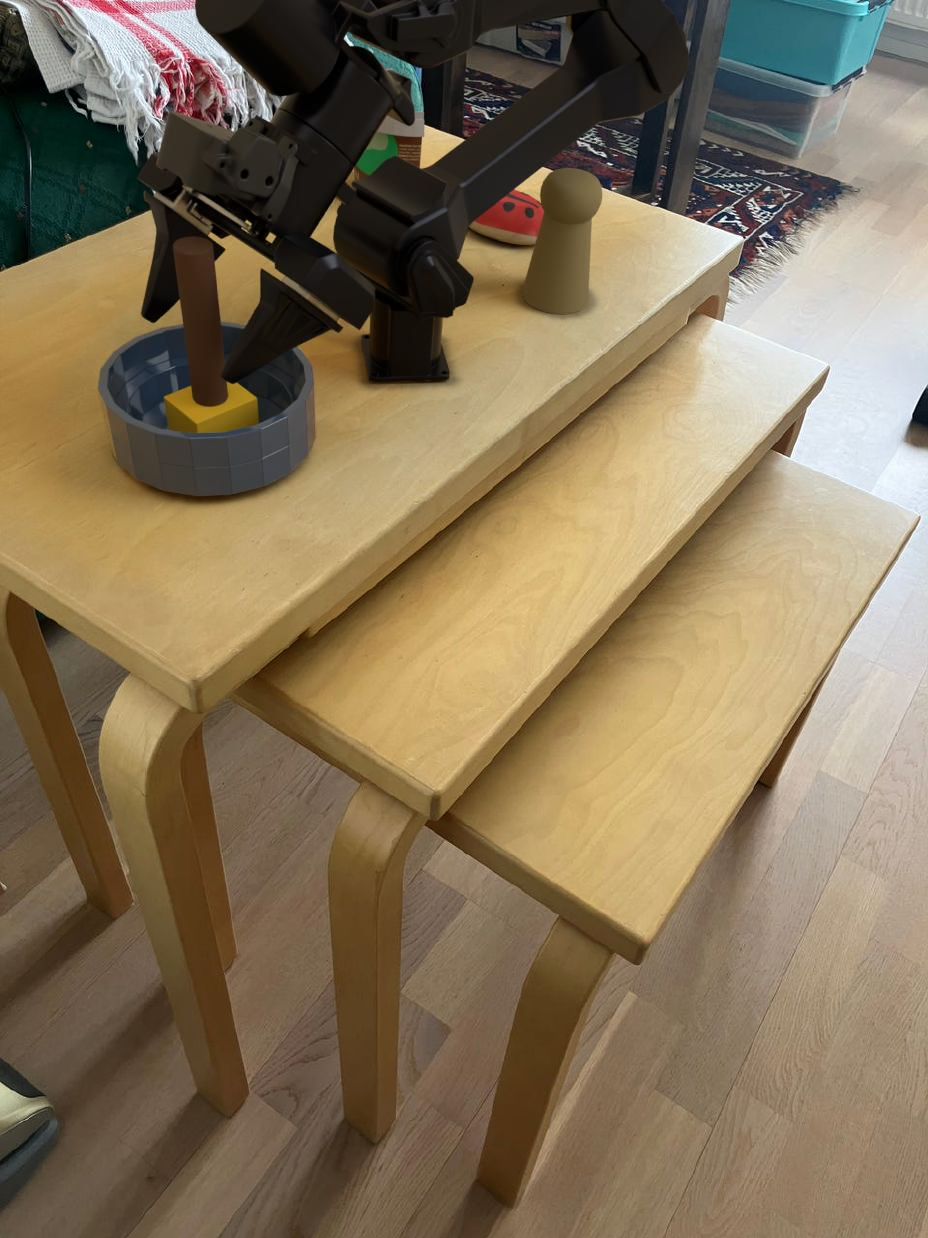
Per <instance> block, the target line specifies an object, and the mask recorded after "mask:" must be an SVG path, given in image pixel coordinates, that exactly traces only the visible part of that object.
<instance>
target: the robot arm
mask: <svg viewBox="0 0 928 1238" xmlns="http://www.w3.org/2000/svg"><path fill="white" fill-rule="evenodd" d="M194 10H195V11H194V12H195V17H196V19H197V22H198V24H199V25H200V26H201V28H203V30H204V31H205V32H206V33H207V34H208V35H209V36H210V37H211V38H212V39H213V40H214V41H215V42H216V43H217V44H218V45H219V46H220V47H221V48H222V49H223V50H224V51H225V52H226V53H227V54H228V55H229V56H230V57H231V58H232V59H233V60H234V61H235V62H236V63H237V64H239V66H240V67H241V68H242V69H243V70H244V71H245V72H247V74H248V75H249V76H250V77H251V78H252V79H254V81H255V82H256V83H258V85H259V86H260V87H261V88H262V89H263V90H264V91H265V92H266V93H267V94H269V95H271V96H275V97H284V98H283V100H282V102H281V103H280V105H279V106H278V108H277V109H276V111H275V112H274V115H273V116H272V118H271V119H270V120H269V121H268V120H266V119H265V118H262V117H261V116H259V115H257V114H256V115H255V116H254V117H252V118H249V119H248V121H247V122H246V123H245V125H244V126H243V127H238V128H237V129H236V131H234V130H231V129H228V128H225V127H223V126H220V125H217V124H215V123H212V122H208V121H205V120H202V119H199V118H196V117H192V116H189V115H187V114H183V113H180V112H177V111H173V110H169V111H168V114H167V118H166V121H165V126H164V130H163V135H162V138H161V142H160V146H159V151H156V152H152V153H151V154H150V155H149V157H148V158H147V160H146V162H145V164H144V166H143V167H142V169H141V170H140V172H139V174H138V176H137V177H136V179H137V180H138V181H140V182H141V183H143V184H144V185H145V186H147V187H148V188H149V189H151V190H152V191H153V192H154V194H153V195H152V194H151V193H149V192H148V191H147V190H143V200H144V201H145V202H146V203H148V205H149V208H150V211H151V214H152V218H153V222H154V225H155V240H154V247H153V255H152V259H151V264H150V268H149V273H148V277H147V281H146V287H145V291H144V295H143V301H142V306H141V311H140V316H141V317H142V318H143V319H144V320H146V321H147V322H150V323H151V324H155V323H157V322H158V321H159V320H160V319H161V318H163V317H164V316H165V315H166V314H167V313H168V312H169V311H171V309H173V307H174V306H176V304H177V303H178V302H180V297H179V290H178V282H177V274H176V267H175V259H174V251H173V244H174V242H175V241H177V240H178V239H181V238H184V237H191V236H195V237H202V238H206V239H208V240H209V241H211V242H212V244H213V251H214V260H215V262H217V260H218V259H219V258H220V257H221V256H222V255H223V254H224V253H225V251H226V248H225V247H224V246H223V245H221V244H220V243H218V242H217V241H216V240H215V239H213V238H212V237H210V236H209V235H210V234H213V235H214V236H216V237H217V238H218V239H220V240H222V239H223V240H224V239H225V238H228V237H229V236H232V237H233V238H235V239H236V240H238V241H239V242H240V243H243V244H244V245H246V246H247V247H249V248H250V249H252V250H253V251H255V252H256V253H258V254H259V255H261V256H263V257H264V258H266V259H267V260H269V261H270V262H271V263H273V264H274V269H275V270H276V271H277V272H279V273H280V274H282V275H283V276H284V277H283V279H282V280H280V279H279V278H277V277H276V276H274V275H273V274H271V272H269V271H267V270H266V269H264V268H260V269H259V301H258V303H257V304H256V305H257V306H256V307H255V309H254V311H253V312H252V314H251V315H250V318H249V319H248V321H247V323H246V324H245V325H246V326H245V328H244V330H243V332H242V333H241V335H240V337H239V339H238V340H237V342H236V344H235V346H234V347H233V349H232V351H231V353H230V354H229V356H228V359H227V361H226V363H225V365H224V367H223V370H222V372H221V378H222V379H224V380H225V381H227V382H229V383H231V384H235V383H237V382H238V381H240V380H242V379H243V378H245V377H247V376H248V375H250V374H252V373H253V372H255V371H256V370H258V369H260V368H261V367H263V366H265V365H266V364H268V363H270V362H271V361H273V360H274V359H276V358H278V357H279V356H281V355H283V354H285V353H286V352H288V351H290V350H291V349H293V348H295V347H299V346H301V345H303V344H305V343H308V342H310V341H312V340H313V339H316V338H317V337H320V336H321V335H324V334H325V333H327V332H330V331H333V332H335V333H336V334H340V333H341V332H342V331H343V330H344V327H343V326H342V324H340V323H339V322H338V321H339V320H340V319H341V320H343V321H344V322H345V323H347V324H349V325H350V326H352V327H353V328H355V329H356V330H358V331H361V330H362V328H363V326H364V325H365V324H366V322H367V320H368V319H369V333H365V334H362V335H361V336H360V344H361V348H362V354H363V359H364V365H365V370H366V375H367V380H368V382H371V383H402V382H403V383H405V382H437V381H438V382H441V381H443V382H444V381H448V380H449V379H450V376H451V370H450V368H449V364H448V361H447V359H446V354H445V350H444V347H443V344H442V337H443V322H444V319H448V318H451V317H453V316H454V311H455V310H456V309H457V308H459V307H460V308H461V307H462V306H465V305H466V304H467V302H468V299H469V297H470V293H471V290H472V288H473V284H474V281H475V278H474V276H473V275H472V273H470V271H468V270H467V269H466V267H464V266H463V265H462V263H460V262H459V261H458V260H459V259H460V257H461V254H462V250H463V248H464V244H465V241H466V237H467V235H468V231H469V229H470V227H469V226H470V225H471V224H472V222H473V221H475V220H476V219H477V218H478V217H480V216H481V215H482V214H483V213H485V212H486V211H487V210H489V209H490V208H491V207H492V206H494V205H495V204H496V203H497V202H499V201H500V200H501V199H503V198H504V197H505V196H506V195H508V194H509V193H510V192H511V191H513V190H514V189H515V190H516V188H518V187H519V186H520V185H521V184H523V183H524V182H526V181H527V180H528V179H529V178H531V177H532V176H533V175H534V174H536V173H537V172H538V171H540V170H541V169H542V168H543V167H545V166H546V165H548V163H550V162H551V161H552V160H554V159H555V158H556V157H557V156H558V155H560V154H561V153H562V152H564V151H565V150H566V149H567V148H568V147H570V146H572V144H574V143H575V142H576V141H577V140H579V139H580V138H582V136H585V134H586V133H588V132H589V131H590V130H592V129H593V128H594V127H595V126H597V125H599V124H600V123H606V122H612V121H618V120H624V119H630V118H636V117H639V116H641V115H643V114H645V113H647V112H648V111H650V110H652V109H654V108H655V107H657V106H659V105H662V104H663V103H664V102H665V101H668V99H669V98H670V97H671V96H672V95H673V94H674V93H675V92H676V90H677V89H678V88H679V87H680V86H681V84H682V82H683V81H684V79H685V78H686V75H687V72H688V69H689V65H690V51H689V48H688V44H687V36H686V33H685V30H684V29H683V27H682V26H680V24H679V22H678V19H677V17H676V15H675V13H674V12H673V11H672V9H671V8H670V7H669V6H668V5H667V3H666V2H665V1H664V0H195V2H194ZM560 18H565V27H566V29H567V31H568V33H569V34H570V38H569V42H568V44H567V48H566V52H565V55H564V59H563V62H562V65H561V66H560V67H559V68H558V69H556V70H554V72H552V73H551V74H550V75H549V76H547V77H546V78H544V80H542V81H540V82H539V83H538V84H536V86H534V87H533V88H531V89H530V90H529V91H527V92H526V93H525V94H524V95H521V97H520V98H518V99H517V100H515V101H514V102H513V103H512V104H510V105H508V106H507V107H506V108H505V109H504V110H503V111H501V112H500V113H499V114H497V115H496V116H495V117H493V118H492V119H491V120H489V121H488V122H486V123H485V124H484V125H483V126H481V127H479V128H478V129H477V130H476V131H475V132H473V133H472V134H471V135H470V136H468V137H467V138H465V139H464V140H462V142H460V143H458V144H457V145H456V146H455V147H453V148H452V149H451V150H449V152H447V153H445V154H444V155H443V156H442V157H440V158H439V159H438V160H437V161H435V162H434V163H432V164H430V165H428V166H426V167H420V168H419V167H417V166H415V165H414V164H412V163H410V162H408V161H406V160H404V159H402V158H401V157H399V156H397V155H395V156H392V157H390V158H388V159H386V160H385V161H384V162H383V163H382V164H381V165H380V166H379V167H378V168H377V169H376V170H375V171H374V172H372V173H371V174H370V175H369V176H367V177H365V178H363V179H361V180H356V181H355V180H353V181H352V182H351V186H350V185H349V184H348V183H347V180H348V178H349V176H351V174H352V172H354V167H355V166H356V164H357V163H358V161H359V159H360V158H361V156H362V155H363V153H364V151H365V150H366V148H367V147H368V145H369V144H370V142H371V140H372V139H373V137H374V136H375V134H376V132H377V131H378V129H379V128H380V126H381V125H382V123H383V121H384V120H385V118H386V117H387V116H389V117H391V118H393V119H395V120H397V121H399V122H401V123H403V124H405V125H407V126H411V125H413V124H414V122H415V104H414V102H413V99H412V98H413V97H412V85H413V81H412V79H411V78H409V77H408V76H406V75H404V74H401V73H399V72H397V71H394V69H393V70H386V69H387V68H386V67H384V66H383V64H382V63H381V61H379V59H378V58H377V57H376V56H375V54H374V53H373V52H372V51H371V50H369V49H367V48H366V47H363V46H359V45H350V44H349V43H348V42H347V40H346V39H345V38H346V35H347V34H351V36H352V38H353V39H355V40H358V41H360V42H362V43H364V44H366V45H368V46H370V47H373V48H374V49H377V50H379V51H381V52H383V53H386V55H389V56H392V57H393V58H396V59H398V60H400V61H402V62H404V63H405V64H409V65H410V66H413V67H415V68H417V69H431V68H434V67H437V66H439V65H442V64H445V63H446V62H449V61H450V60H452V59H455V58H457V57H459V56H461V55H464V54H465V53H467V52H469V51H470V50H471V49H472V48H473V46H474V45H475V43H476V42H477V41H478V39H479V38H480V36H482V35H484V34H487V33H489V32H491V31H494V30H500V29H505V28H511V27H517V26H522V25H527V24H532V23H533V24H534V23H538V22H542V21H550V20H555V19H560ZM353 188H354V189H353ZM355 189H356V190H355ZM334 200H337V201H339V203H340V204H339V206H338V207H337V209H336V217H335V221H334V222H335V223H334V225H333V233H332V241H333V246H334V250H335V251H334V250H332V249H331V248H329V247H327V246H326V245H324V244H323V243H322V242H319V241H318V240H317V239H314V238H313V237H312V235H313V234H314V233H315V231H316V229H317V227H318V226H319V225H320V222H321V221H322V220H323V218H324V217H325V215H326V213H327V212H328V210H329V209H330V207H331V205H332V204H333V203H334V202H335V201H334ZM247 222H248V223H247ZM270 234H271V235H273V236H274V239H273V240H272V242H271V241H269V240H267V238H268V236H269V235H270Z"/></svg>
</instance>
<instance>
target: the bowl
mask: <svg viewBox="0 0 928 1238" xmlns="http://www.w3.org/2000/svg"><path fill="white" fill-rule="evenodd" d="M246 325H247V324H243V323H236V322H230V321H221V329H222V339H223V349H224V359H225V363H226V361H227V359H228V356H229V354H230V353H231V351H232V349H233V347H234V346H235V344H236V342H237V340H238V339H239V337H240V335H241V333H242V332H243V330H244V328H245V326H246ZM98 375H99V376H98V382H97V392H98V397H99V401H100V407H101V411H102V416H103V419H104V420H103V421H104V425H105V429H106V436H107V440H108V444H109V445H108V446H109V448H110V449H111V452H112V454H113V456H114V458H115V460H116V463H117V464H118V465H119V466H120V467H121V468H122V469H124V471H126V472H127V473H128V474H130V475H131V476H132V477H133V478H134V479H135V480H137V481H139V482H140V483H144V484H146V485H149V486H151V487H153V488H156V489H158V490H161V491H163V492H169V493H175V494H180V495H187V496H193V497H208V496H209V497H211V496H213V497H214V496H228V495H229V496H231V495H235V494H239V493H243V492H248V491H251V490H255V489H259V488H263V487H267V486H268V485H270V484H273V483H274V482H276V481H278V480H280V479H282V478H284V477H287V476H289V475H290V474H291V473H293V472H294V471H295V470H296V469H297V468H298V467H299V466H300V465H301V464H302V463H303V462H304V461H305V460H306V459H307V458H308V457H309V455H310V452H311V450H312V448H313V445H314V443H315V441H316V437H317V436H316V435H317V434H316V432H317V431H316V401H315V400H316V399H315V397H316V396H315V379H314V371H313V365H312V363H311V361H310V360H309V359H308V357H307V356H306V354H305V353H304V352H303V350H302V349H301V348H300V347H299V346H297V347H295V348H293V349H291V350H290V351H288V352H286V353H285V354H283V355H281V356H279V357H278V358H276V359H274V360H273V361H271V362H270V363H268V364H266V365H265V366H263V367H261V368H260V369H258V370H256V371H255V372H253V373H252V374H250V375H248V376H247V377H245V378H243V379H242V380H240V381H238V382H237V383H238V384H239V385H241V386H242V387H243V388H245V389H246V390H247V391H249V392H250V393H251V394H252V395H254V396H255V397H256V398H257V403H258V416H259V424H257V425H254V426H250V427H245V428H241V429H236V430H232V431H227V432H214V433H186V432H180V431H173V430H169V429H168V422H167V416H166V409H165V403H164V396H166V395H169V394H172V393H174V392H177V391H179V390H182V389H184V388H187V387H189V386H191V381H190V374H189V366H188V358H187V351H186V343H185V335H184V328H183V323H179V324H174V325H168V326H161V327H158V328H156V329H153V330H151V331H148V332H145V333H142V334H139V335H137V336H134V337H133V338H131V339H129V340H128V341H127V342H126V343H124V344H123V345H121V346H119V347H118V348H117V349H115V350H114V351H112V353H111V354H110V356H108V357H107V359H106V361H105V362H104V364H103V365H102V366H101V367H100V369H99V374H98Z"/></svg>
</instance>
